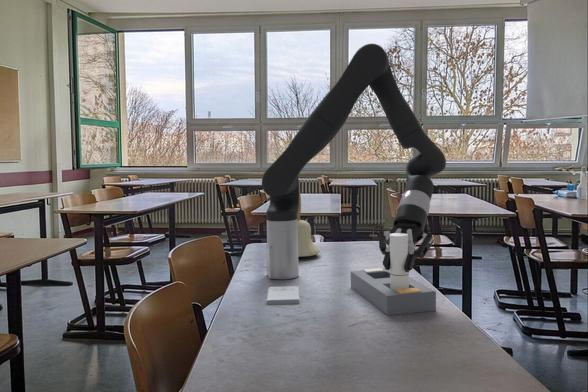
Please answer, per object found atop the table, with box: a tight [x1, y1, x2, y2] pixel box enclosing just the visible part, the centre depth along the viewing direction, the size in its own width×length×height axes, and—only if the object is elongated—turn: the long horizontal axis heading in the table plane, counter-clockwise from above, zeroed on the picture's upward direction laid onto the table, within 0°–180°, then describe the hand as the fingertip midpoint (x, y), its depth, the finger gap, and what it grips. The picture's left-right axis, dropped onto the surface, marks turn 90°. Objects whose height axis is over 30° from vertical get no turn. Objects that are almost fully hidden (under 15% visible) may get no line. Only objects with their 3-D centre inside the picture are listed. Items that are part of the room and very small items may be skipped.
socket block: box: [350, 267, 437, 317], centre depth 121 cm, size 24×12×5 cm, turn 13°
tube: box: [389, 233, 410, 290], centre depth 115 cm, size 4×4×15 cm
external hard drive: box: [265, 285, 301, 305], centre depth 125 cm, size 2×8×12 cm
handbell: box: [297, 187, 321, 258], centre depth 172 cm, size 15×15×25 cm
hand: (396, 269), depth 113 cm, fingers closed on tube, 4 cm apart
